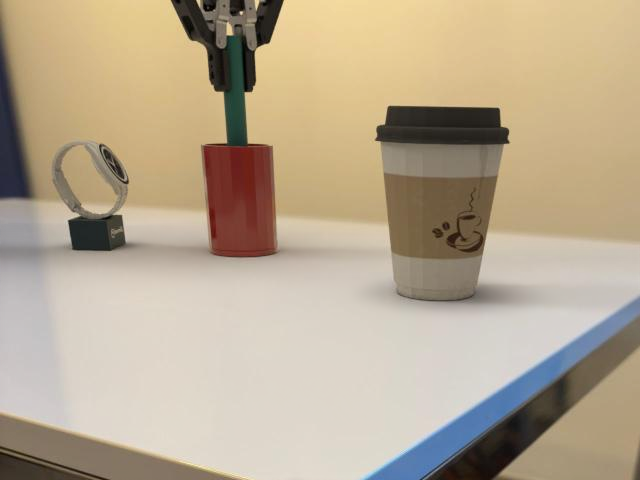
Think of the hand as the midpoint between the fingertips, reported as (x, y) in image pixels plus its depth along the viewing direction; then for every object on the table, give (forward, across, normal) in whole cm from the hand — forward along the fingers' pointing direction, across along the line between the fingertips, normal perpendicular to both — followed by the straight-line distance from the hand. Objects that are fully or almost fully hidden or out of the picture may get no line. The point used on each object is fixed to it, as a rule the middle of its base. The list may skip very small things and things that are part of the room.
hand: (233, 91), depth 81 cm
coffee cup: (+16, -1, +29) cm, 33 cm away
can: (+16, 0, 0) cm, 16 cm away
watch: (+16, +11, -13) cm, 24 cm away
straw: (+10, 0, 0) cm, 10 cm away
